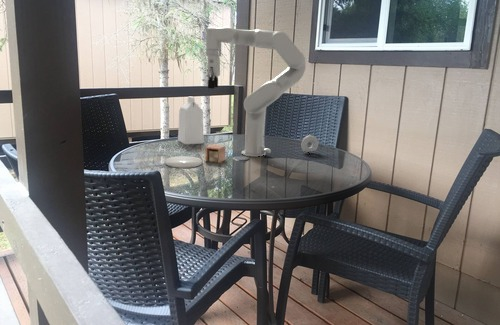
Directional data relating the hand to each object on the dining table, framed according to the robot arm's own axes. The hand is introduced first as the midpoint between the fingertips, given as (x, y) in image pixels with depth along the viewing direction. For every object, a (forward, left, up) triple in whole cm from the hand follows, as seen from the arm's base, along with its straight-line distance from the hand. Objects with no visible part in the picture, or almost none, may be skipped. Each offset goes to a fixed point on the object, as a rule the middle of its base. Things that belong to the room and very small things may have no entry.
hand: (213, 87), depth 213 cm
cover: (-10, +18, -33) cm, 39 cm away
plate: (+1, +30, -33) cm, 44 cm away
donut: (-48, -21, -33) cm, 62 cm away
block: (-10, +18, -33) cm, 39 cm away
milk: (+21, -17, -34) cm, 43 cm away
